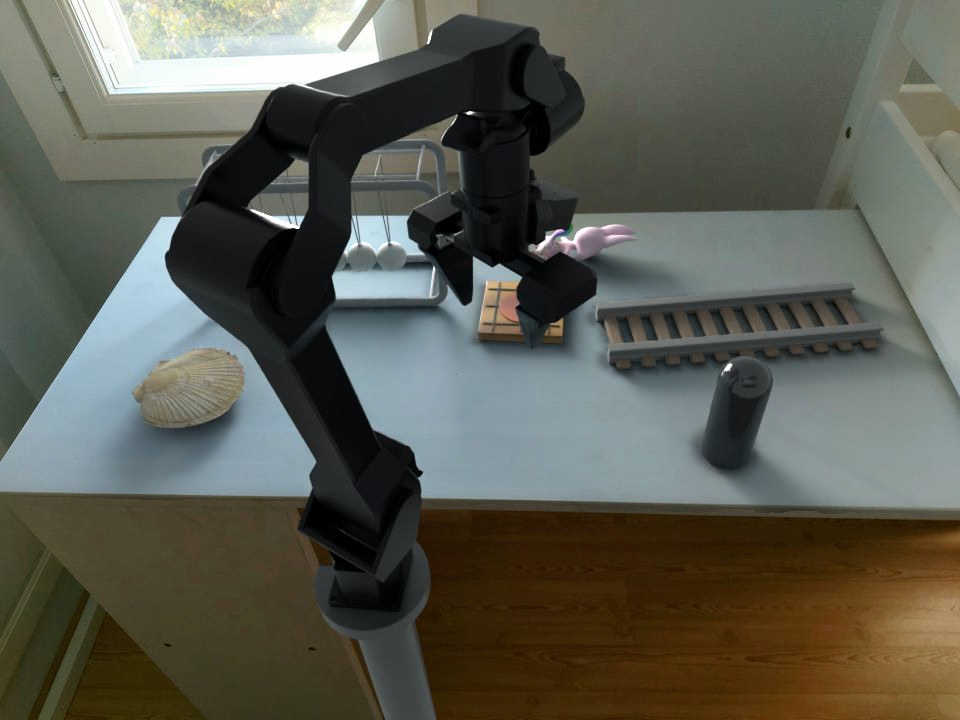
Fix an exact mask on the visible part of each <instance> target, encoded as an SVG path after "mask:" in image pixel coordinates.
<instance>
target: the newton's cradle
mask: <svg viewBox="0 0 960 720" xmlns="http://www.w3.org/2000/svg"><path fill="white" fill-rule="evenodd" d="M233 144H234V143H232V144H213V145H210V146H208V147H206V148H205V149H204V151H203V152H202V154H201V155H202V156H201V164H202V167H203V169H202V171H201V173H200V174H199V176H198V178H197V180H196V182H195V183H194V184H192V185H188V186H187V185H186V186H184V187H183V188H181V189H180V190H179V192H178V193H177V198H176V202H177V207H178V209H179V212H180V215H181V216H182V215H183V213H184V211H185V209H186V207H187V205H188V203H189V201H188V200H189V198H191V197H192V195H193V193H194V191H195V189H196V187H197V185H198V183H199V181H200V179H201V177H202V175H203V173H204V172H205V170H206V169H207V168H208V166H210V165H211V164H212V163H213V162H214V160H216V159H217V158H219V157H220V156H221V155H222V154H223V153H224V152H225V151H226V150H228V149H229V148H230V147H231V146H232V145H233ZM425 150H428V151H430V152H431V153H433V155H434V158H435V167H436V178H437V189H438V190H437V189H436V188H435V186H433V185H432V184H431V183H430V182H427V181H425V180H421V173H422V167H423V162H424V157H425V156H424V155H425ZM412 154H414V155H415V154H416V155H417V154H420V155H419V161H418V166H417V171H416V174H384V171H383V162H382V155H412ZM373 155H374V156H377V155H379V156H378V161H377V165H376V168H375V172H374V175H353V177H352V179H351V193H352V198H353V204H354V212H355V220H356V225H355V222H354V218H353V214H352V212H351V219H352V227H353V230H354V233H355V237H356V243H355V244H353V245H351V246H350V248H349V249H348V251H346V249H345V250H344V252H343V254H342V257H341V259H340V261H339V263H338V265H337V267H336V269H335V271H334V273H338V272H340V271H341V270H343V269H344V268H345V267H346V265H347V264H349V266H350V267H351V268H352V269H353V270H354V271H356V272H360V273H365V272H368V271H370V270H372V269H373V268H374V267H375V265H376V264H378V265H379V266H380V268H382V269H383V270H385V271H387V272H396V271H399V270H401V269H402V268H403V267H404V266H405V264H406V263H431V262H430V261H429V259H428V258H427V257H426V256H425V254H424V253H407V252H406V250H405V247H404V246H402V244H401V243H398V242H396V241H392V240H391V233H390V232H391V231H390V223H389V215H388V205H387V197H386V196H387V195H386V192H398V191H402V192H404V191H420V192H423V193H424V194H426V195H427V197H428V200H429V201H430V200H432V199H434V198H436V197H438V196H440V195H442V194H444V193H446V192H448V191H449V190H448V180H447V168H446V157H445V152H444V150H443V149H442V147H441V145H440V144H438V143H437V142H436V141H433V140H431V139H425V138H421V139H419V138H418V139H399V140H397V141H395V142H392V143H390V144H388V145H385V146H383V147H381V148H379V149H376V150H374V151H372V152H369V153H367V154H365V155H364V156H373ZM379 163H380V173H381V174H380V175H377V171H378V167H379ZM285 171H286V177H277V178H276V179H275V180H274V181H273V182H271V183H270V184H269V185H268V186H267V187H266V188H265V189H263V190H262V191H261V192H260V193H259V194H258V199H259V206H260V210H261V213H262V214H264V208H263V203H262V198H261V195H268V194H272V195H273V194H276V195H277V194H279V196H280V198H281V199H280V200H281V201H282V204H283V207H284V210H285V214H286V217H287V219H288V223H289V224H292V225H293V223H292V220H291V217H290V215H289V212H288V210H287V207H286V206H287V205H286V204H285V201H284V198H283V195H282V194H290V198H291V204H292V209H293V215H294V221H295V226H297V227H299V225H298V219H297V213H296V208H295V203H294V198H293V194H309V175H308V176H299V177H298V176H296V177H289V170H288V169H286V170H285ZM393 179H394V180H393ZM400 179H401V180H400ZM355 180H356V181H355ZM357 180H358V181H357ZM355 192H359V193H360V192H377V193H376V194H377V197H378V201H379V206H380V211H381V215H382V221H383V225H384V230H385V235H386V238H387V242H384V243H383V244H381V245H380V247H379V248H378V250H377V252H376V250H375V248H374V246H372V245H371V244H369V243H367V242H363V241H361V235H360V227H359V220H358V213H357V205H356V199H355ZM380 192H383V197H384V207H385V214H386V220H385V215H384V210H383V205H382V201H381V196H380ZM249 205H250V207H251V209H252V210H254V211H255V208H254V206H253V203H252V200H251V201H250V203H249ZM356 227H357V229H356ZM432 267H433V268H432V273H431V282H430V288H429V289H430V290H429V296H423V297H422V296H413V297H412V296H411V297H404V296H403V297H402V296H401V297H350V298H349V297H348V298H347V297H344V298H340V297H339V298H338V297H336V300H335V303H334V305H333V307H332V308H381V307H382V308H384V307H385V308H387V307H433V306H437V305H440V304H442V303H443V302H444V301H445V300H446V299H447V297H448V293H449V286H448V285H447V283H446V282H445V280H444V279H443V278H442V276H441V275H440V274H439V272H438V271H437V270H436V268H435V267H434V266H433V265H432ZM436 276H437V277H436ZM436 278H437V287H438V293H437V294H436V295H434V288H435V280H436Z"/></svg>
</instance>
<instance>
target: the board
mask: <svg viewBox="0 0 960 720" xmlns="http://www.w3.org/2000/svg"><path fill="white" fill-rule="evenodd" d="M519 282H520V281H504V280H503V281H501V280H487V281H486V284H485V290H484V295H483V301H482V307H481V313H480V318H479V324H478V328H477V329H478V330H477V338H478V339H477V340H479V341H496V342H499V341H500V342H501V341H502V342H522V343H526V341H525V339H524V335H523V332H522V329H521V326H520V322H519V319H518V316H517V313H516V310H515V306H517V305H518V304H520V303H519V301H518V300H517V298H516V287H517V286H518V284H519ZM564 318H565V317H563V318H562V319H561V320H559V321H558V322H556V323H550V325H549V327H548V329H547V331H546V333H545V335H544V337H543V339H542V341H541V343H540V344H544V343H545V344H563V337H564Z"/></svg>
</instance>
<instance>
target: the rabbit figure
mask: <svg viewBox="0 0 960 720" xmlns="http://www.w3.org/2000/svg"><path fill="white" fill-rule="evenodd" d="M573 231H574V224H573V222H572V223H571V226H570V229H569V230H567V231H563V230H562V229H561V230H555V232H553V233H552V234H551V235H546V240H545V241H543V242H542V243H540V244H539V245H537V246H536V245H534V244H531V245H532V247H533V249H531V250H530V251H531V252H532V253H534V254H536V255H538V256H540V257H541V258H543V259H545V260H547V259H549V258H550V257H552V256H554V255H555V254H557V253H558V252H562V253H564V254H566V255H568V256H569V254H570V253H571V251H573V250H574V251H575V254H577V255H578V257H580V259H583V260H584V259H588V258H591V257H594V256H597V255H599V254H600V253H601V252H602V250H603V249H607V248H610V247H613V246H616V245H618V244H621V243H625V242H633V241H634V242H636V241H638V237H635V236H631V235H635V234H637V233H636V231H635V230H633V229H632V228H630V227H628V226H626V225H624V224H609V225H605V226H602V227H596V226H587V227H584V228H581V229H580V230H578V231H577V232H576V234H575V236H574V239H573V240H570V239H568V236H570V235H571V233H572V232H573ZM557 238H560V240H561V241H559V240H558V239H557Z"/></svg>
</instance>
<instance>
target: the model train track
mask: <svg viewBox="0 0 960 720" xmlns="http://www.w3.org/2000/svg"><path fill="white" fill-rule="evenodd" d="M855 290H856V287H855V285H854V284H853V282H851V281H850V282H840V283H839V282H837V283H827V284H826V283H825V284H817V285H816V284H815V285H814V284H813V285H802V286H789V287H778V288H776V287H775V288H766V289H754V290H753V289H752V290H741V291H728V292H717V293H704V294H703V293H702V294H692V295H681V296H667V297H657V298H642V299H629V300H619V301H608V302H596V303H595V307H596V308H595V315H594V316H595V321H596V322H603V324H604V328H605V331H606V335H607V338H608V342H609V344H607V348H608V350H607V352H606V359H607V362H608V364H615V365H616V368H617V369H618V370H620V371H621V370H629V369H630V368H632V363H634V362H640V364H641V366H642V367H643V368H654V367H655V366H657V361H658V360H665V362H666V365H668V366H678V365H680V364H681V363H682V360H681V359H682V358H689V360H690V362H691V363H692V364H701V363H704V362H706V358H705V357H706V356H714V358H715V360H716V361H717V362H728V361H729V360H731V355H730V354H739V356H752V357H755V358H756V354H755V352H763V353H764V355H765V356H766V357H767V358H774V357H775V358H776V357H778V356H780V355H781V352H780V350H788V351H789V353H790V354H791V355H792V356H800V355H803V354H804V353H805V352H806V349H804V348H812V349H813V350H814V352H815V354H822V353H823V354H825V353H828V352H829V351H830V348H829V347H828V346H834V345H835V346H837V348H838V349H839V351H840V352H848V351H853V350H852V349H854V346H853V344H860V343H861V346H862V347H863V349H865V350H871V349H872V350H873V349H876V348H877V347H878V346H879V344H878V343H877V342H879V340H880V339H881V331H884V327H883V325H882V324H881V322H879V321H875V322H863V320H862V319H861V317H860V316H859V314H858V313H857V311H856V310H855V308H854V307H853V305H852V304H851V302H850V301H851V300H852V298H853V291H855ZM827 303H835V305H836V307H837V309H838V310H839V312H840V313H841V314H842V316H843V318H844V319H845V321H846V322H847V324H840V323H839V322H838V321H837V319H836V317H835V316H834V314H833V313H832V311H831V310H830V308H829V306H828V305H827ZM804 305H811V306H812V308H813V310H814V311H815V313H816V314H817V316H818V317H819V319H820V321H821V322H822V324H823V326H816V325H815V323H814V322H813V320H812V319H811V317H810V315H809V313H808V312H807V310H806V308H805V307H804ZM787 306H788V308H789V309H790V311H791V313H792V315H793V316H794V319H796V321H797V323H798V325H799V326H800V328H793V327H792V326H791V324H790V322H789V320H788V319H787V317H786V315H785V313H784V312H783V310H782V308H781V307H787ZM758 309H766V311H767V312H768V314H769V317H770V318H771V320H772V321H773V324H774V325H775V328H776V330H768V328H767V326H766V323H765V322H764V320H763V318H762V316H761V314H760V312H759V311H758ZM735 311H743V314H744V315H745V317H746V319H747V321H748V324H749V325H750V327H751V330H752V331H753V332H744V330H743V328H742V326H741V323H740V322H739V319H738V318H737V315H736V314H735ZM717 312H719V314H720V316H721V318H722V320H723V322H724V325H725V326H726V328H727V331H728V333H729V334H720V331H719V329H718V327H717V325H716V323H715V321H714V318H713V316H712V314H711V313H717ZM691 314H692V315H693V314H696V317H697V319H698V321H699V323H700V325H701V328H702V330H703V333H704V335H705V336H696V334H695V332H694V329H693V327H692V323H690V320H689V317H688V315H691ZM667 316H672V317H673V320H674V323H675V325H676V327H677V330H678V332H679V336H680V338H673V337H672V334H671V332H670V329H669V326H668V323H667V321H666V319H665V317H667ZM644 318H649V319H650V321H651V325H652V327H653V329H654V333H655V335H656V338H657V340H649V338H648V335H647V333H646V330H645V327H644V324H643V322H642V319H644ZM619 320H626V321H627V324H628V326H629V329H630V332H631V335H632V339H633V342H625V340H624V337H623V335H622V331H621V329H620V325H619V322H618V321H619Z"/></svg>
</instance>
